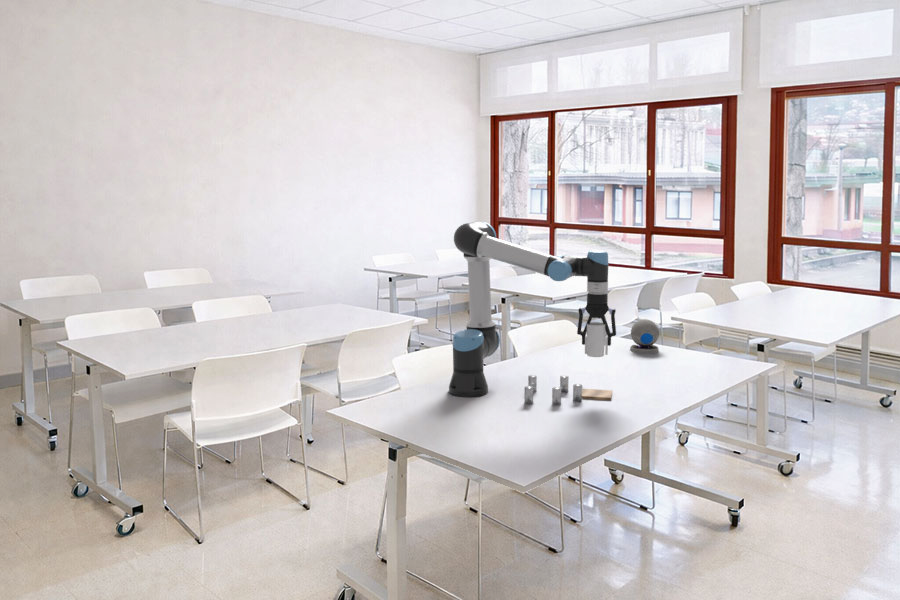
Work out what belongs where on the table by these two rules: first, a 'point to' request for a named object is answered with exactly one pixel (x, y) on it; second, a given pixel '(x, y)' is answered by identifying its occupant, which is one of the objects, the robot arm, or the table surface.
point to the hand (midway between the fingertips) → (596, 353)
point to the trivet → (596, 394)
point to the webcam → (644, 336)
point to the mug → (596, 339)
